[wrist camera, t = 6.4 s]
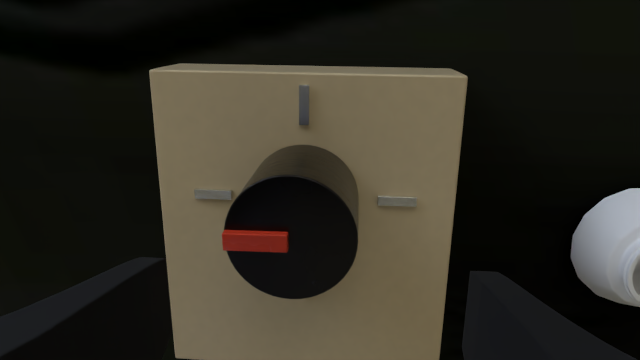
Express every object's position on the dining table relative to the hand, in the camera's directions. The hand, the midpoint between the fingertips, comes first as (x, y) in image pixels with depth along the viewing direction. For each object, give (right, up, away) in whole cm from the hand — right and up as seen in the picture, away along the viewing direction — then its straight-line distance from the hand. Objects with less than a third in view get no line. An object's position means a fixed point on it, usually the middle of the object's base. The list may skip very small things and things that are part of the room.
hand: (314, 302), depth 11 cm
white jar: (+13, 0, +9) cm, 16 cm away
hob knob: (0, +2, +6) cm, 7 cm away
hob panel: (0, +2, +10) cm, 10 cm away
